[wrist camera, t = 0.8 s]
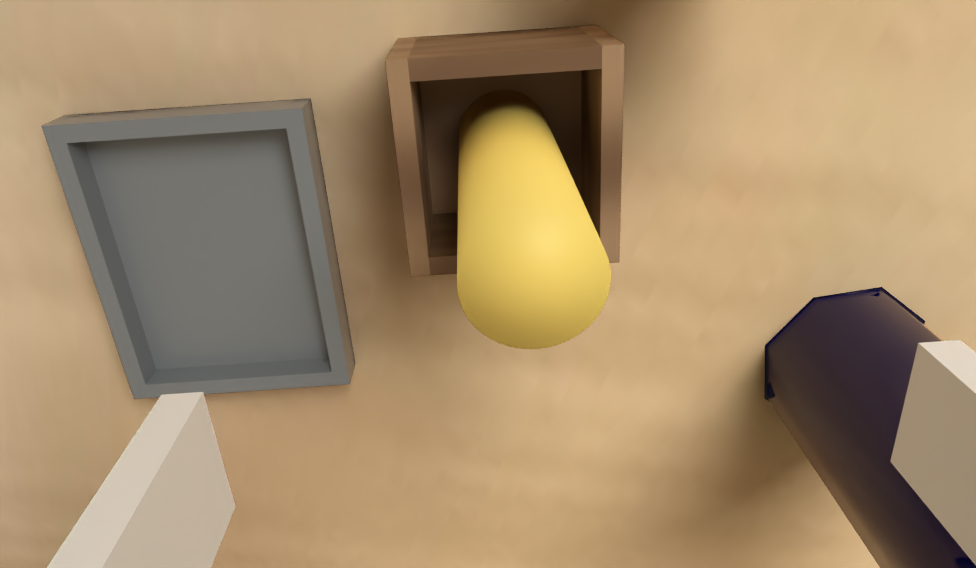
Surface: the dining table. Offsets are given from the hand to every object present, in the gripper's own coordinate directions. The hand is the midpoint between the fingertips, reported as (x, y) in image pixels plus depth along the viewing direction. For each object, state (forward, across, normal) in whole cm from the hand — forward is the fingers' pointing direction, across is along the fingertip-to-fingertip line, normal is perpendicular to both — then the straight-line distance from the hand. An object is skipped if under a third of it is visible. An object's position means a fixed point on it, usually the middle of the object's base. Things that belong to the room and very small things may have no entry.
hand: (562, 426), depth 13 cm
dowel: (+21, 0, 0) cm, 21 cm away
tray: (+22, -14, -5) cm, 26 cm away
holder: (+22, 0, 0) cm, 22 cm away
